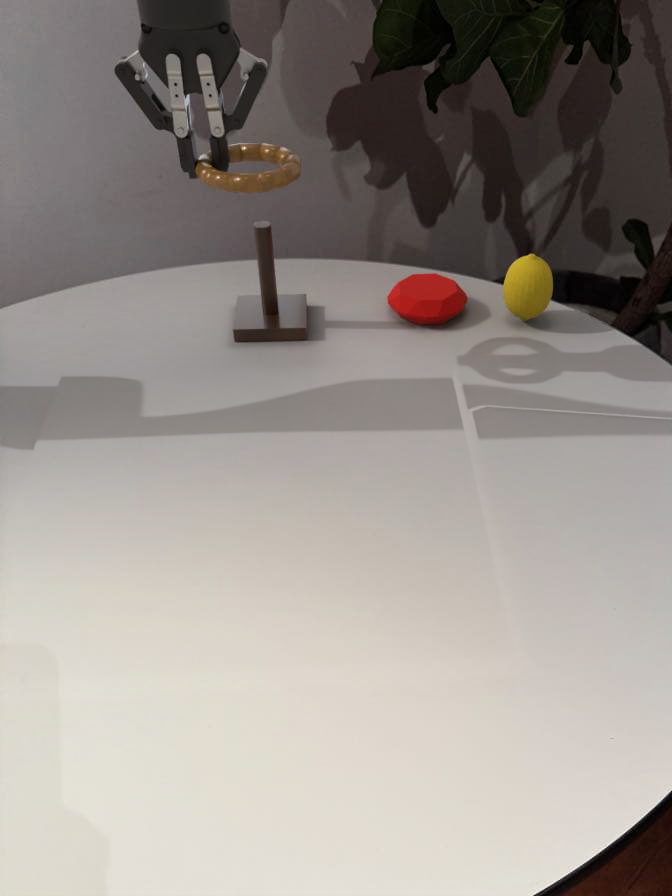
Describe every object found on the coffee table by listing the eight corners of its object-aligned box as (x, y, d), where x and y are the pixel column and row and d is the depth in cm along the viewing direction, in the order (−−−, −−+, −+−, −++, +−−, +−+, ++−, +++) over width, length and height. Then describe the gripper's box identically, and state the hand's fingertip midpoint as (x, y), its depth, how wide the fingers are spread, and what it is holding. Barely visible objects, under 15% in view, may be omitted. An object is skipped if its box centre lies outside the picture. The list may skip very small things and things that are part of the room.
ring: (192, 196, 78) (189, 177, 76) (203, 158, 85) (201, 140, 84) (300, 195, 78) (299, 177, 77) (302, 157, 85) (301, 140, 84)
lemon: (547, 310, 103) (556, 245, 97) (548, 334, 99) (558, 267, 93) (500, 307, 103) (507, 242, 98) (499, 330, 99) (506, 264, 93)
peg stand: (234, 341, 96) (221, 241, 88) (238, 307, 102) (226, 209, 94) (307, 339, 97) (300, 239, 89) (307, 305, 103) (300, 208, 95)
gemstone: (412, 336, 98) (412, 312, 96) (375, 302, 103) (375, 278, 101) (479, 318, 101) (481, 294, 99) (440, 286, 107) (441, 263, 105)
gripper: (79, -37, 66) (125, 192, 78) (261, -37, 67) (280, 190, 79) (98, -55, 72) (139, 162, 84) (266, -54, 73) (283, 160, 84)
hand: (207, 175), depth 81 cm, fingers closed on ring, 1 cm apart
